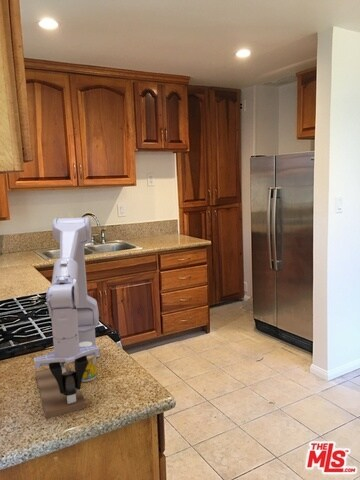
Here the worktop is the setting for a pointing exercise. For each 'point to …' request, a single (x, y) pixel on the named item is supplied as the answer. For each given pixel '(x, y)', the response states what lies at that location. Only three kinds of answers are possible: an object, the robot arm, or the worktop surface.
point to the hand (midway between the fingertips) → (69, 389)
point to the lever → (69, 384)
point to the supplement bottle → (89, 365)
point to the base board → (56, 395)
